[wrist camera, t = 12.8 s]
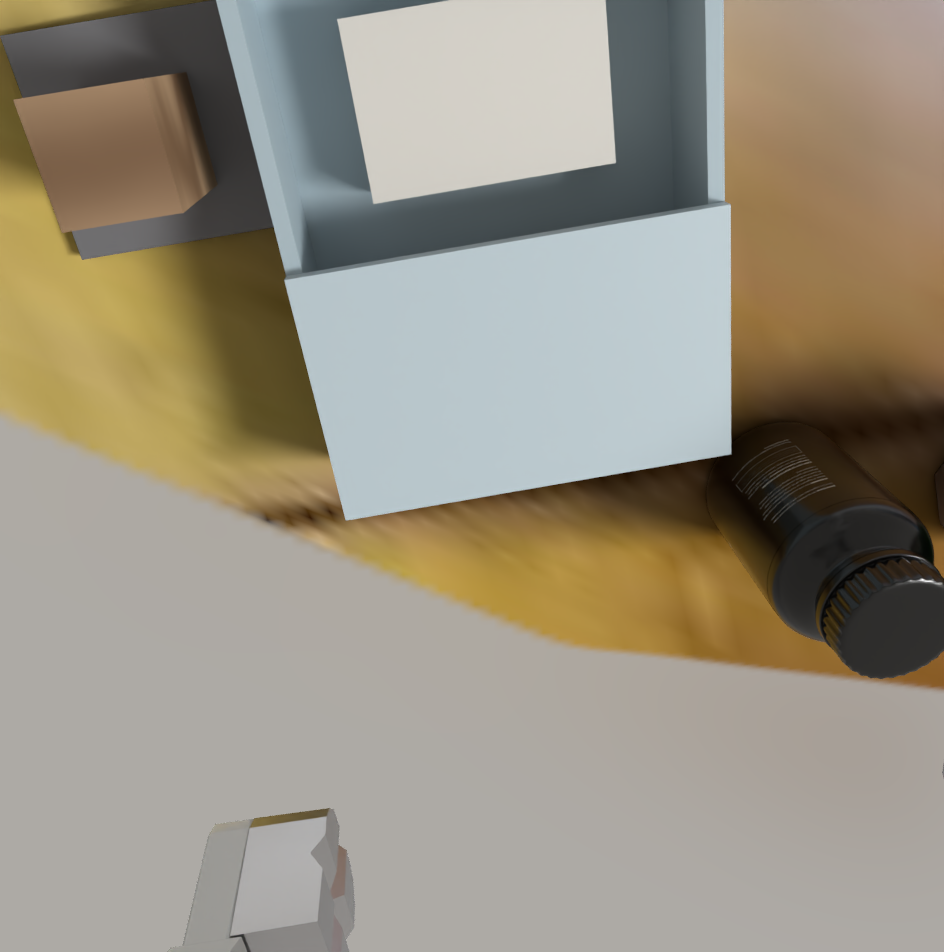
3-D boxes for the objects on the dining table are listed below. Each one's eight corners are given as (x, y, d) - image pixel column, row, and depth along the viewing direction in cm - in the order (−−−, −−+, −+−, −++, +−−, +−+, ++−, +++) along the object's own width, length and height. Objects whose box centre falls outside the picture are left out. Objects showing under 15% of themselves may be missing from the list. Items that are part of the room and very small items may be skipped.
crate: (231, -35, 30) (199, -51, 25) (673, -110, 30) (729, -140, 25) (351, 459, 39) (345, 520, 34) (688, 402, 39) (731, 454, 34)
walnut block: (78, 89, 31) (12, 99, 25) (186, 71, 31) (143, 78, 25) (115, 201, 33) (62, 232, 27) (217, 185, 33) (183, 212, 27)
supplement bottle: (698, 545, 43) (798, 709, 32) (706, 423, 40) (820, 562, 29) (828, 531, 43) (969, 690, 33) (847, 410, 40) (1010, 543, 30)
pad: (6, 36, 30) (-1, 35, 30) (225, -1, 30) (222, -2, 30) (86, 256, 34) (82, 259, 33) (281, 223, 34) (279, 226, 33)
